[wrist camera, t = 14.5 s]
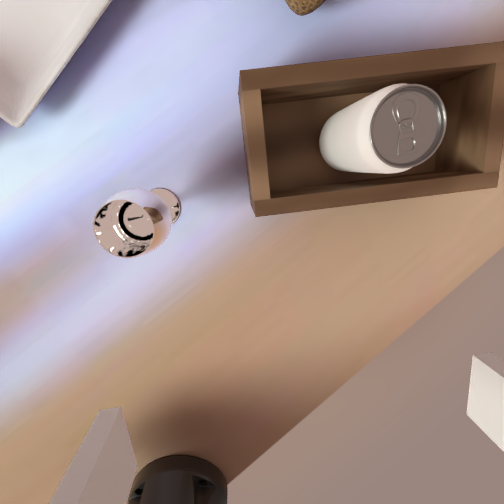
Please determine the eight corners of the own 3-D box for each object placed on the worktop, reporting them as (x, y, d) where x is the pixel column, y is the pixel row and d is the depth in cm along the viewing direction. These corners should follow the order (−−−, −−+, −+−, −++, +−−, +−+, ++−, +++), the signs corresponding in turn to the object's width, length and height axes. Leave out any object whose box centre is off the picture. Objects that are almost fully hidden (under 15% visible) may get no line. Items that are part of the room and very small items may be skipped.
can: (373, 103, 31) (454, 68, 20) (377, 165, 33) (452, 165, 22) (314, 114, 31) (361, 85, 20) (321, 176, 33) (367, 181, 22)
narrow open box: (440, 182, 35) (497, 187, 28) (251, 205, 35) (255, 217, 27) (448, 69, 32) (516, 40, 24) (238, 93, 31) (239, 70, 24)
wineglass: (188, 186, 34) (164, 198, 22) (183, 235, 35) (159, 268, 24) (137, 178, 33) (85, 186, 22) (134, 228, 35) (85, 259, 23)
